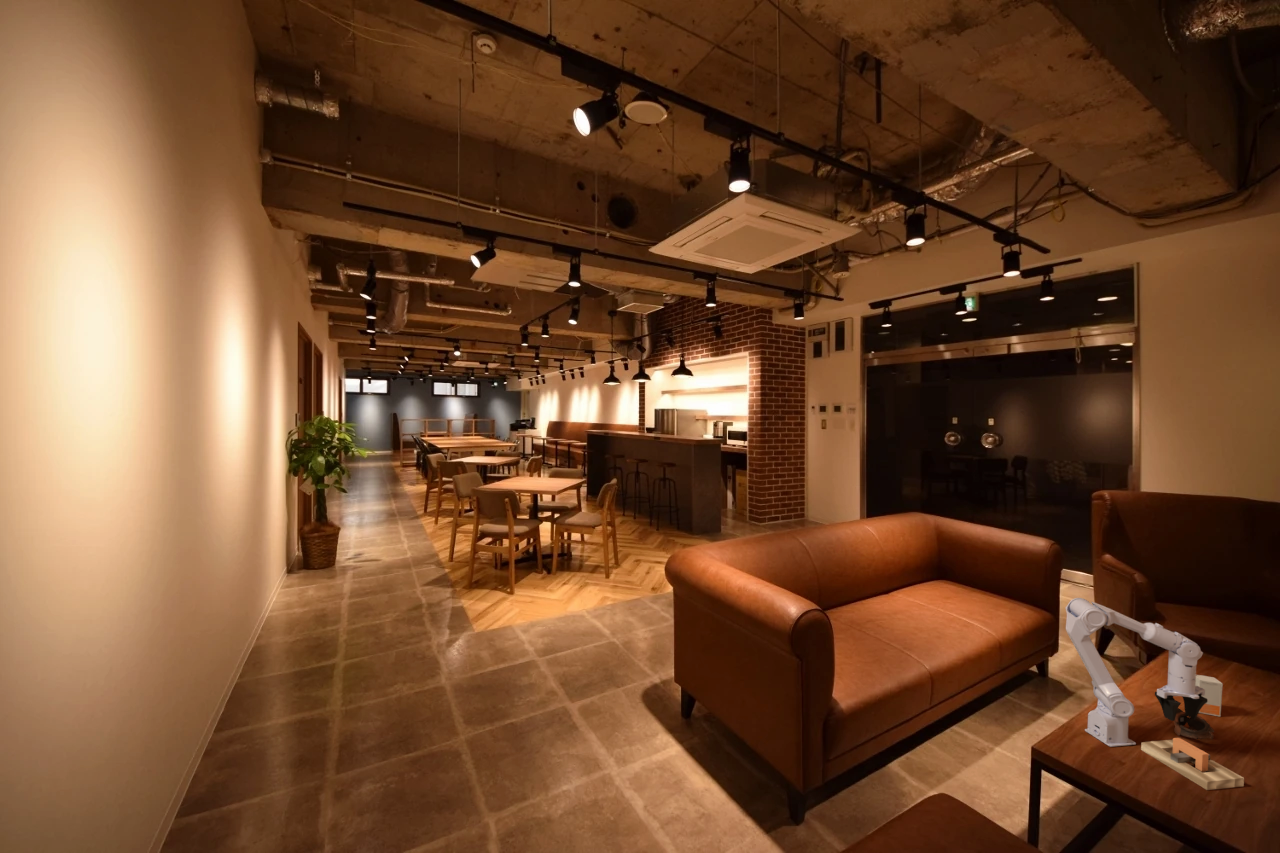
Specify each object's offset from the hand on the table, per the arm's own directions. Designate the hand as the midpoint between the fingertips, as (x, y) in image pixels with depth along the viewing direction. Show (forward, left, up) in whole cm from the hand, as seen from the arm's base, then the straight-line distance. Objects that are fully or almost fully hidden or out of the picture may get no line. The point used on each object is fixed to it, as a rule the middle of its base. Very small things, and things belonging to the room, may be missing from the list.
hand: (1179, 718), depth 150 cm
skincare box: (+32, +15, -10) cm, 37 cm away
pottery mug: (+12, +6, -10) cm, 17 cm away
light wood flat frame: (-6, -7, -10) cm, 13 cm away
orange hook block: (-6, -7, -8) cm, 12 cm away
